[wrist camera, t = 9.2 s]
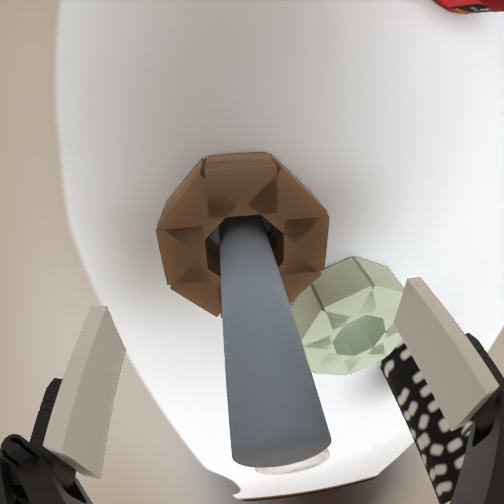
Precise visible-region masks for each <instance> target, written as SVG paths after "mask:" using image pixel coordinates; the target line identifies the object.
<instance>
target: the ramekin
mask: <svg viewBox="0 0 504 504" xmlns="http://www.w3.org/2000/svg"><path fill="white" fill-rule="evenodd" d="M328 458H329V451H328V449H327V448H326V449H325V450H324V451H322V452H321V453H319V454H318V455H316V456H314V457H312V458H309V459H307V460H304V461H301V462H298V463H294V464H290V465H285V466H279V467H267V468H258V467H255V470H256V471H257V472H258V473H261V474H266V475H283V474H291V473H296V472H301V471H304V470H308V469H311V468H313V467H316V466H318V465H320V464H322V463H323V462H325V461H326V460H327V459H328Z"/></svg>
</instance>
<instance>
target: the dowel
mask: <svg viewBox="0 0 504 504" xmlns="http://www.w3.org/2000/svg"><path fill="white" fill-rule="evenodd" d="M219 238H220V269H221V294H222V316H223V336H224V353H225V370H226V385H227V399H228V412H229V425H230V437H231V449H232V458H233V460H234V461H235V462H237V463H239V464H241V465H244V466H249V467H258V468H267V467H279V466H285V465H290V464H294V463H298V462H301V461H304V460H307V459H309V458H312V457H314V456H316V455H318V454H319V453H321V452H322V451H324V450H325V449H326V448H327V447H328V446H329V445H330V443H331V437H330V433H329V430H328V427H327V423H326V420H325V416H324V413H323V410H322V406H321V403H320V400H319V397H318V393H317V390H316V387H315V383H314V380H313V377H312V374H311V370H310V367H309V364H308V361H307V357H306V354H305V351H304V348H303V345H302V341H301V338H300V335H299V332H298V329H297V326H296V322H295V319H294V316H293V313H292V310H291V307H290V304H289V300H288V297H287V294H286V291H285V288H284V285H283V282H282V279H281V276H280V273H279V270H278V267H277V264H276V261H275V258H274V255H273V251H272V248H271V245H270V242H269V239H268V236H267V233H266V230H265V227H264V225H263V222H262V219H261V216H260V215H247V216H234V217H226V218H225V219H224V220H223V221H222V222H221V223H220V224H219Z"/></svg>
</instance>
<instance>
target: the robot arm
mask: <svg viewBox="0 0 504 504" xmlns="http://www.w3.org/2000/svg"><path fill="white" fill-rule="evenodd" d="M393 324H394V326H395V327H396V329H397V331H398V332H399V334H400V336H401V338H402V339H403V341H404V343H405V344H406V346H407V348H408V350H409V351H410V353H411V355H412V357H413V358H414V360H415V362H416V364H417V366H418V367H419V369H420V371H421V373H422V375H423V377H424V378H425V380H426V382H427V384H428V386H429V388H430V390H431V392H432V394H433V395H434V397H435V399H436V401H437V403H438V405H439V407H440V409H441V411H442V413H443V415H444V417H445V419H446V421H447V424H448V426H449V428H450V430H451V431H453V430H455V429H457V428H459V427H461V426H463V425H465V424H466V423H467V422H468V421H469V420H470V419H471V418H473V420H474V422H473V423H472V424H471V425H470V426H469V427H468V428H467V429H466V430H465V431H464V432H463V435H462V436H465V435H466V434H467V433H468V432H469V431H470V433H469V435H468V436H467V437H469V439H468V443H467V448H466V452H465V456H464V460H463V464H462V467H461V471H460V474H459V478H458V481H457V484H456V488H455V491H454V494H453V497H452V499H451V502H450V504H504V378H503V376H502V374H501V373H500V371H499V370H498V368H497V367H496V365H495V364H494V362H493V361H492V360H491V358H490V357H489V355H488V354H487V352H486V351H484V348H483V346H482V345H481V344H480V342H479V341H478V340H477V339H476V338H475V337H474V336H472V335H471V334H470V333H467V334H464V332H463V331H462V330H461V328H460V327H459V326H458V324H457V323H456V322H455V320H454V319H453V318H452V316H451V315H450V314H449V312H448V311H447V310H446V308H445V307H444V306H443V305H442V303H441V302H440V301H439V300H438V298H437V297H436V296H435V295H434V293H433V292H432V291H431V290H430V288H429V287H428V286H427V285H426V284H425V282H424V281H423V280H422V279H421V278H420V277H417V278H411V279H407V281H406V285H405V288H404V291H403V295H402V298H401V301H400V304H399V307H398V310H397V313H396V316H395V319H394V321H393ZM125 351H126V349H125V347H124V345H123V343H122V340H121V338H120V336H119V334H118V332H117V329H116V327H115V325H114V322H113V320H112V318H111V315H110V313H109V310H108V308H107V306H98V307H91V309H90V312H89V314H88V316H87V318H86V320H85V323H84V325H83V328H82V330H81V332H80V335H79V337H78V340H77V342H76V345H75V347H74V350H73V352H72V355H71V358H70V360H69V363H68V366H67V369H66V371H65V374H64V377H63V379H57V378H54V379H53V381H52V382H51V383H50V384H49V386H48V387H47V389H46V391H45V394H44V397H43V401H42V403H41V406H40V411H39V412H38V415H37V419H36V422H35V425H34V429H33V432H32V436H31V439H30V442H28V441H27V440H25V439H24V438H23V437H21V436H20V435H17V434H12V435H9V436H8V437H6V438H5V439H4V441H3V443H2V444H1V448H0V504H93V503H92V502H91V500H90V499H89V497H88V496H87V494H86V492H85V491H84V489H83V487H82V486H81V484H80V482H79V481H78V479H77V478H76V477H75V474H76V471H77V472H79V473H80V474H82V475H83V476H87V477H92V478H97V479H101V477H102V469H103V461H104V455H105V448H106V442H107V436H108V430H109V425H110V419H111V414H112V409H113V404H114V399H115V394H116V390H117V384H118V380H119V376H120V371H121V367H122V363H123V359H124V355H125Z"/></svg>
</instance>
